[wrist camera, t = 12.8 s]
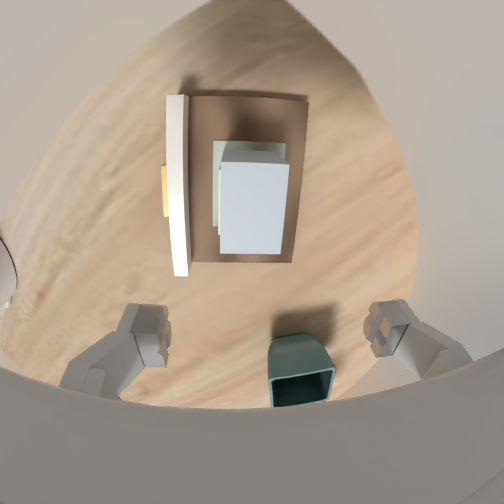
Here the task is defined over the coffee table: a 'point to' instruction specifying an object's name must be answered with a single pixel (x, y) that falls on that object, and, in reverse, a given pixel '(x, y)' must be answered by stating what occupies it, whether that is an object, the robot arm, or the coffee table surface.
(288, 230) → the shelf board
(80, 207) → the coffee table surface
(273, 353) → the flower pot
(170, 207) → the price rail
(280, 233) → the product carton
